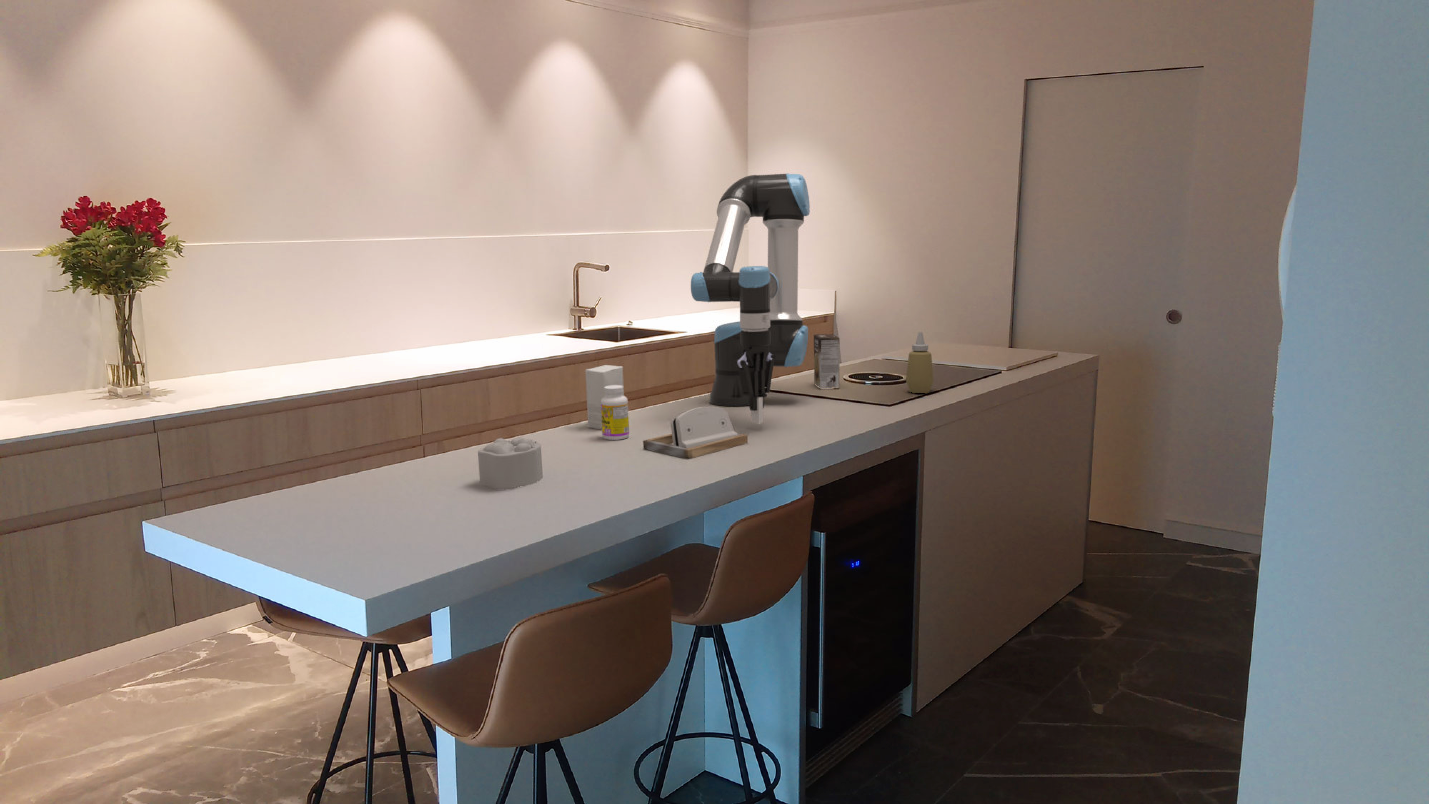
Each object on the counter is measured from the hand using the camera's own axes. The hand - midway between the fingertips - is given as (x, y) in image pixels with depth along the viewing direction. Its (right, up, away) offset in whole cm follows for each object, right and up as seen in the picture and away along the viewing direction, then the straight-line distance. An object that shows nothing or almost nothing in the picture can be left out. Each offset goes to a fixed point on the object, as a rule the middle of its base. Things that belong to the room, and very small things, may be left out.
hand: (757, 422), depth 242 cm
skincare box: (-39, -1, +9) cm, 40 cm away
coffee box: (+24, +10, +58) cm, 64 cm away
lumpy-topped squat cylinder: (-53, -12, -41) cm, 68 cm away
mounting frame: (-15, -5, -15) cm, 22 cm away
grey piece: (-13, -5, -13) cm, 19 cm away
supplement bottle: (-35, -4, -4) cm, 36 cm away
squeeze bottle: (+51, +8, +45) cm, 68 cm away
